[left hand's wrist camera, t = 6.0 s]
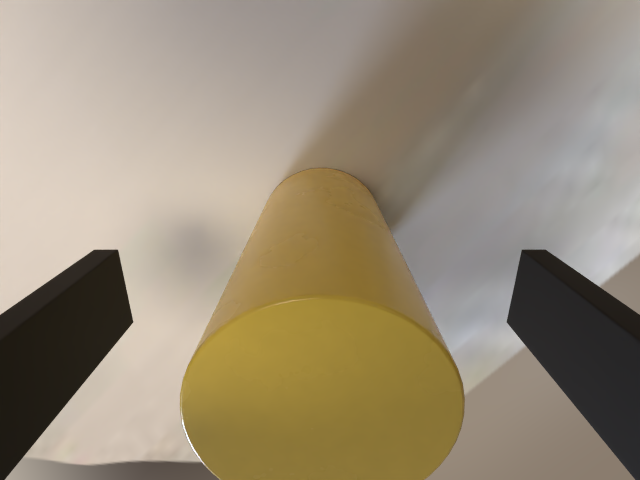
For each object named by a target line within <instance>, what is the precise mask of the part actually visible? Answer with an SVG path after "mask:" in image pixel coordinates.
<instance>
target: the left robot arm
mask: <svg viewBox="0 0 640 480" xmlns="http://www.w3.org/2000/svg"><path fill="white" fill-rule="evenodd" d="M132 323H133V319H132V314H131V309H130V304H129V300H128V295H127V290H126V285H125V281H124V276H123V271H122V266H121V262H120V257H119V252H118V250H93V251H92V252H90V253H89V254H88V255H86V256H85V257H83V258H82V259H80V260H79V261H77V262H76V263H75V264H73V265H72V266H70V267H69V268H67V269H66V270H64V271H63V272H62V273H60V274H59V275H57V276H56V277H54V278H53V279H51V280H50V281H49V282H47V283H46V284H44V285H43V286H41V287H40V288H38V289H37V290H36V291H34V292H33V293H31V294H30V295H28V296H27V297H25V298H24V299H23V300H21V301H20V302H18V303H17V304H15V305H14V306H12V307H11V308H10V309H8V310H7V311H5V312H4V313H2V314H1V315H0V480H5V478H6V477H7V476H8V475H9V474H10V472H11V471H12V470H13V469H14V467H15V466H16V465H17V464H18V463H19V461H20V460H21V459H22V458H23V456H24V455H25V454H26V453H27V452H28V450H29V449H30V448H31V447H32V445H33V444H34V443H35V442H36V441H37V439H38V438H39V437H40V436H41V434H42V433H43V432H44V431H45V430H46V428H47V427H48V426H49V425H50V423H51V422H52V421H53V420H54V419H55V417H56V416H57V415H58V414H59V412H60V411H61V410H62V409H63V408H64V406H65V405H66V404H67V403H68V401H69V400H70V399H71V398H72V396H73V395H74V394H75V393H76V392H77V390H78V389H79V388H80V387H81V385H82V384H83V383H84V382H85V381H86V379H87V378H88V377H89V376H90V374H91V373H92V372H93V371H94V370H95V368H96V367H97V366H98V365H99V363H100V362H101V361H102V360H103V359H104V357H105V356H106V355H107V354H108V352H109V351H110V350H111V349H112V348H113V346H114V345H115V344H116V343H117V341H118V340H119V339H120V338H121V337H122V335H123V334H124V333H125V332H126V330H127V329H128V328H129V327H130V326H131V324H132ZM507 323H508V324H509V326H510V327H511V328H512V329H513V330H514V332H515V333H516V334H517V335H518V337H519V338H520V339H521V340H522V341H523V343H524V344H525V345H526V346H527V348H528V349H529V350H530V351H531V352H532V354H533V355H534V356H535V357H536V358H537V360H538V361H539V362H540V363H541V365H542V366H543V367H544V368H545V370H546V371H547V372H548V373H549V374H550V376H551V377H552V378H553V379H554V381H555V382H556V383H557V384H558V385H559V387H560V388H561V389H562V390H563V392H564V393H565V394H566V395H567V397H568V398H569V399H570V400H571V401H572V403H573V404H574V405H575V406H576V408H577V409H578V410H579V411H580V412H581V414H582V415H583V416H584V417H585V418H586V420H587V421H588V422H589V423H590V425H591V426H592V427H593V428H594V430H595V431H596V432H597V433H598V434H599V436H600V437H601V438H602V439H603V441H604V442H605V443H606V444H607V445H608V447H609V448H610V449H611V450H612V452H613V453H614V454H615V455H616V456H617V458H618V459H619V460H620V461H621V463H622V464H623V465H624V466H625V467H626V469H627V470H628V471H629V472H630V474H631V475H632V476H633V477H634V478H635V480H640V315H639V314H638V313H636V312H635V311H633V310H632V309H630V308H629V307H628V306H626V305H625V304H623V303H622V302H620V301H619V300H617V299H616V298H614V297H613V296H612V295H610V294H609V293H607V292H606V291H604V290H603V289H602V288H600V287H599V286H597V285H596V284H594V283H593V282H591V281H590V280H589V279H587V278H586V277H584V276H583V275H581V274H580V273H578V272H577V271H576V270H574V269H573V268H571V267H570V266H568V265H567V264H565V263H564V262H563V261H561V260H560V259H558V258H557V257H555V256H554V255H552V254H551V253H550V252H548V251H547V250H522V252H521V257H520V262H519V266H518V271H517V276H516V281H515V285H514V290H513V295H512V300H511V304H510V309H509V314H508V319H507Z"/></svg>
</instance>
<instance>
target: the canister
mask: <svg viewBox="0 0 640 480" xmlns="http://www.w3.org/2000/svg"><path fill="white" fill-rule="evenodd" d="M464 402H465V397H464V390H463V383H462V380H461V377H460V374H459V371H458V368H457V366H456V364H455V362H454V360H453V358H452V356H451V354H450V352H449V350H448V348H447V346H446V344H445V342H444V340H443V338H442V336H441V334H440V332H439V329H438V327H437V325H436V323H435V321H434V319H433V317H432V315H431V313H430V311H429V309H428V307H427V305H426V303H425V301H424V299H423V297H422V295H421V293H420V291H419V289H418V287H417V285H416V283H415V281H414V279H413V277H412V274H411V272H410V270H409V268H408V266H407V264H406V262H405V260H404V258H403V256H402V254H401V252H400V250H399V248H398V246H397V244H396V242H395V240H394V238H393V236H392V234H391V232H390V230H389V228H388V226H387V224H386V222H385V219H384V217H383V215H382V213H381V211H380V209H379V207H378V205H377V203H376V201H375V199H374V197H373V196H372V194H371V193H370V191H369V190H368V189H367V188H366V187H365V186H364V185H363V184H362V183H361V182H360V181H359V180H357V179H356V178H354V177H353V176H351V175H349V174H347V173H345V172H342V171H339V170H335V169H329V168H314V169H308V170H304V171H301V172H299V173H296V174H294V175H292V176H290V177H289V178H287V179H286V180H284V181H283V182H282V183H281V184H280V185H279V186H278V187H277V188H276V189H275V190H274V191H273V193H272V194H271V196H270V197H269V199H268V201H267V203H266V205H265V207H264V209H263V211H262V213H261V216H260V218H259V220H258V222H257V224H256V226H255V228H254V230H253V232H252V234H251V236H250V238H249V240H248V242H247V245H246V247H245V249H244V251H243V253H242V255H241V257H240V259H239V261H238V263H237V265H236V267H235V269H234V271H233V274H232V276H231V278H230V280H229V282H228V284H227V286H226V288H225V290H224V292H223V294H222V296H221V298H220V300H219V303H218V305H217V307H216V309H215V311H214V313H213V315H212V317H211V319H210V321H209V323H208V325H207V327H206V329H205V332H204V334H203V336H202V338H201V340H200V342H199V344H198V346H197V348H196V350H195V352H194V354H193V356H192V358H191V361H190V363H189V365H188V367H187V370H186V373H185V375H184V378H183V382H182V387H181V392H180V413H181V419H182V425H183V428H184V431H185V434H186V437H187V439H188V441H189V443H190V445H191V447H192V449H193V451H194V452H195V453H196V455H197V456H198V458H199V459H200V460H201V462H202V463H203V464H204V465H205V466H206V467H207V468H208V469H209V470H210V471H211V472H212V473H213V474H214V475H215V476H216V477H217V478H219V479H220V480H425V479H426V478H427V477H429V476H430V475H431V474H432V473H433V472H434V471H435V470H436V469H437V468H438V467H439V466H440V465H441V463H442V462H443V461H444V460H445V458H446V457H447V456H448V455H449V453H450V451H451V449H452V448H453V446H454V444H455V443H456V440H457V438H458V435H459V433H460V430H461V426H462V422H463V417H464Z"/></svg>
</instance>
